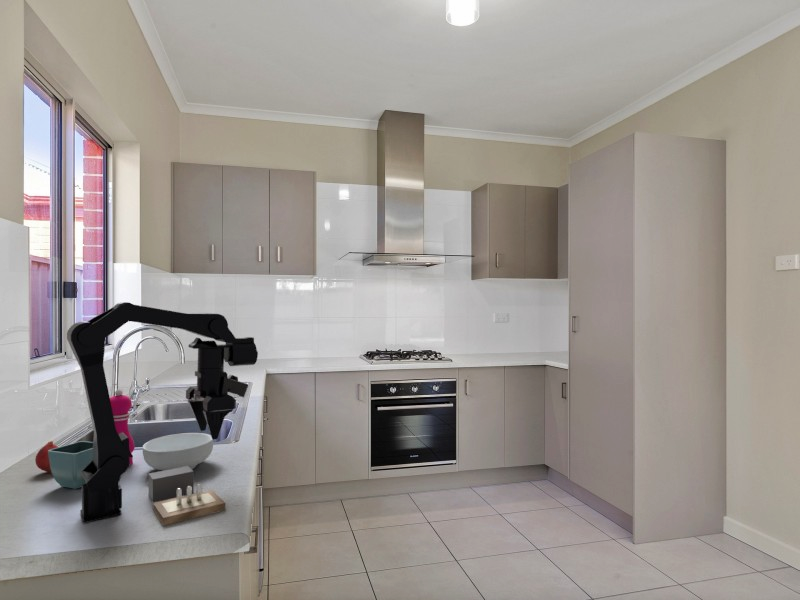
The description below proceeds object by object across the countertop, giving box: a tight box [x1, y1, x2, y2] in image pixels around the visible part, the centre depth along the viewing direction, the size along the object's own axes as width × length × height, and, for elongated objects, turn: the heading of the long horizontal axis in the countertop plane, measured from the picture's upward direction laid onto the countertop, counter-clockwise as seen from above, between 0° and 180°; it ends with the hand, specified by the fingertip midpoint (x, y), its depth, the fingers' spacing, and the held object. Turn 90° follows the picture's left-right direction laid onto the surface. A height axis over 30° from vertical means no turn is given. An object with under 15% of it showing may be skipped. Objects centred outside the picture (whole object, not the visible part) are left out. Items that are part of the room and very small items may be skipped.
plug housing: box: [148, 466, 195, 503], centre depth 114 cm, size 8×4×5 cm, turn 127°
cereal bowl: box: [142, 432, 214, 471], centre depth 132 cm, size 17×17×7 cm
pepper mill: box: [110, 388, 136, 466], centre depth 134 cm, size 7×7×20 cm
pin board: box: [152, 489, 226, 526], centre depth 106 cm, size 12×9×2 cm
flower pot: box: [48, 440, 93, 490], centre depth 120 cm, size 9×9×9 cm
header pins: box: [175, 483, 203, 506], centre depth 106 cm, size 5×1×4 cm, turn 127°
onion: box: [34, 440, 59, 474], centre depth 129 cm, size 6×6×8 cm
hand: (208, 434), depth 118 cm, fingers open, 9 cm apart
